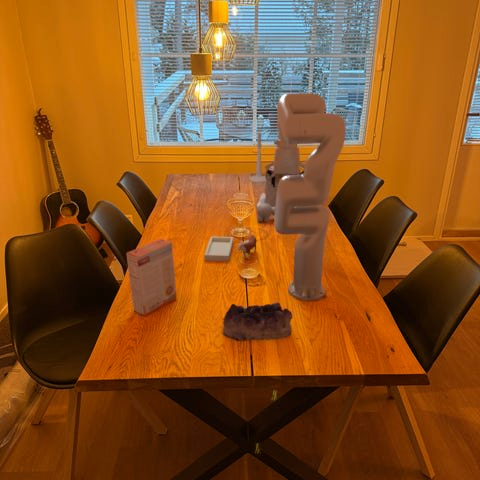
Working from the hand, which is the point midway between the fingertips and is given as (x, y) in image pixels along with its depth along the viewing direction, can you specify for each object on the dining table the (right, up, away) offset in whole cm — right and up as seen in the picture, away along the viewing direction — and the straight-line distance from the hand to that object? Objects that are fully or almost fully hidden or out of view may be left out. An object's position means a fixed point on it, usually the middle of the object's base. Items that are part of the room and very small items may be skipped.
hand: (285, 186), depth 178 cm
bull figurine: (-15, -28, 0) cm, 32 cm away
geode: (-14, -49, -48) cm, 70 cm away
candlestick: (-7, +17, +105) cm, 106 cm away
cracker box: (-46, -43, -33) cm, 72 cm away
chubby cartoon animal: (-4, -12, +37) cm, 39 cm away
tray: (-27, -26, +5) cm, 38 cm away
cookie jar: (+4, -2, +61) cm, 61 cm away
